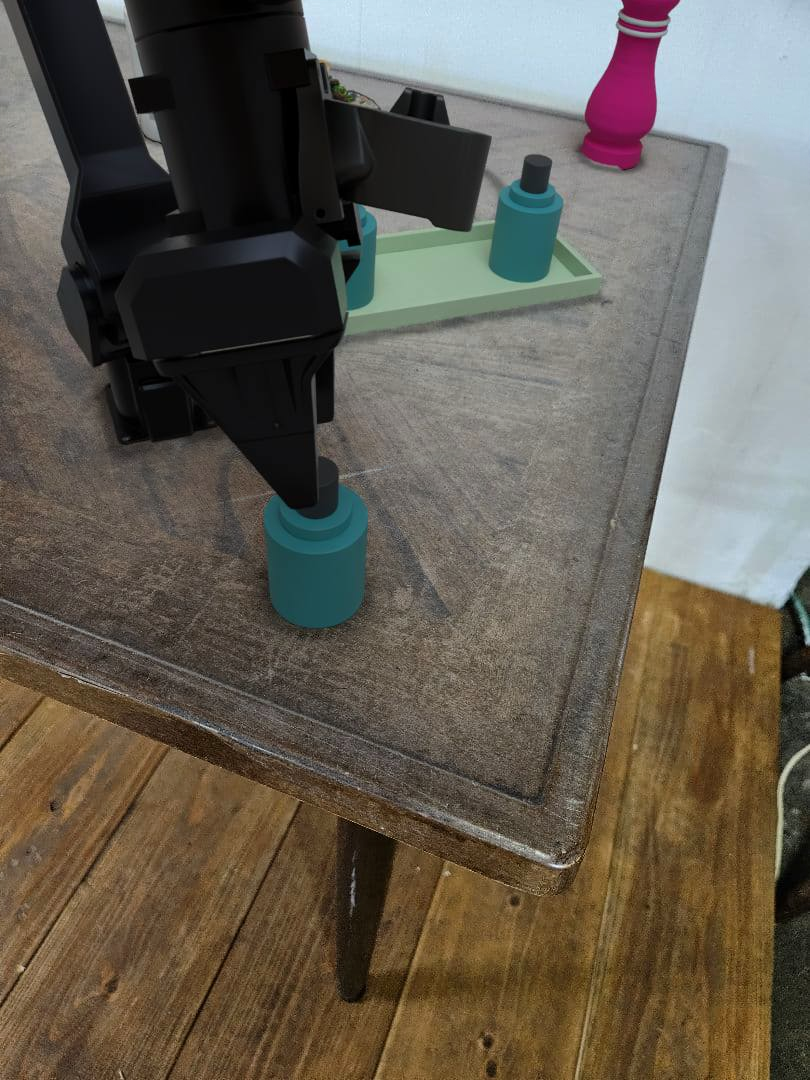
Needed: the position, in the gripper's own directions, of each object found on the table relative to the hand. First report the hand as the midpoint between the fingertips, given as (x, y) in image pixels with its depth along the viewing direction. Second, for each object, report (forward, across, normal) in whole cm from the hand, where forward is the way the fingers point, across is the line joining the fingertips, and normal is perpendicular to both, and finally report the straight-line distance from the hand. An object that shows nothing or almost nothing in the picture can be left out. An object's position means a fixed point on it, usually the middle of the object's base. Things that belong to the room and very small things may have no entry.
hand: (315, 459), depth 35 cm
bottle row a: (+1, +40, -14) cm, 43 cm away
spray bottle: (-13, +63, +17) cm, 67 cm away
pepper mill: (-4, +65, -28) cm, 71 cm away
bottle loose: (+10, +6, +2) cm, 12 cm away
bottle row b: (0, +35, +1) cm, 35 cm away
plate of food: (-12, +68, +2) cm, 69 cm away
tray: (+1, +38, -6) cm, 38 cm away
